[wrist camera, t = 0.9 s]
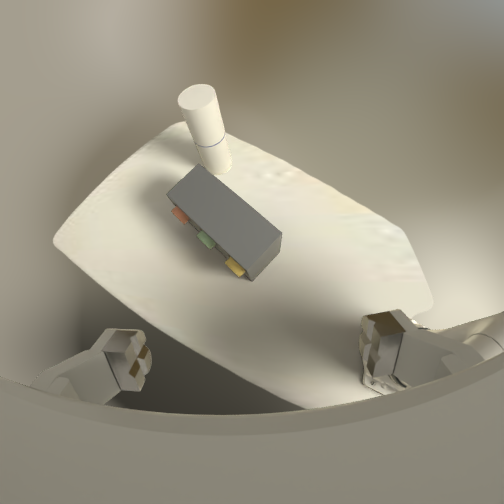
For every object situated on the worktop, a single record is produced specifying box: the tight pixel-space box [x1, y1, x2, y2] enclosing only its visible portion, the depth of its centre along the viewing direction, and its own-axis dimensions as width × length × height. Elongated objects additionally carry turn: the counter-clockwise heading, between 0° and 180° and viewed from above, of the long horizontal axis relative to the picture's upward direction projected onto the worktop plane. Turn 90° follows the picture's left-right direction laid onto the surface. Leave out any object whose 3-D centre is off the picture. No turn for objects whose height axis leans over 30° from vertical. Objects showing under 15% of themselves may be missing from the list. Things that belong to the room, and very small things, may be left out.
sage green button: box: [196, 230, 216, 250], centre depth 55 cm, size 4×3×4 cm
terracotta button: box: [171, 206, 189, 224], centre depth 57 cm, size 4×3×4 cm
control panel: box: [166, 164, 282, 281], centre depth 58 cm, size 22×9×14 cm, turn 47°
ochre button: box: [225, 257, 245, 277], centre depth 54 cm, size 4×3×4 cm
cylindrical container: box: [178, 84, 232, 175], centre depth 57 cm, size 7×7×25 cm
